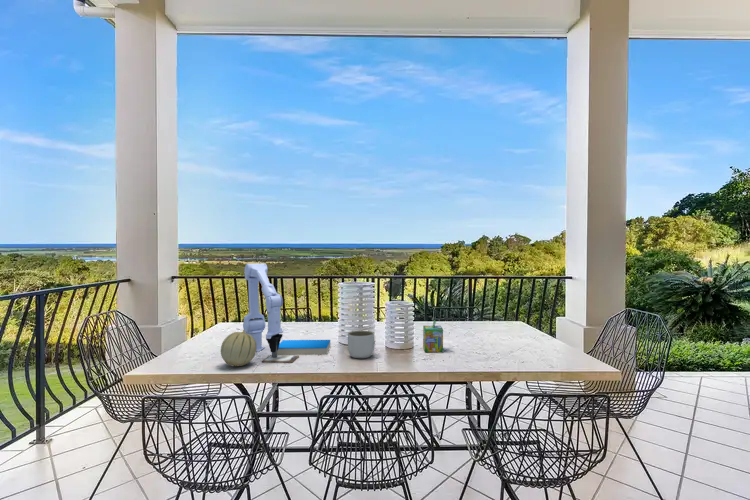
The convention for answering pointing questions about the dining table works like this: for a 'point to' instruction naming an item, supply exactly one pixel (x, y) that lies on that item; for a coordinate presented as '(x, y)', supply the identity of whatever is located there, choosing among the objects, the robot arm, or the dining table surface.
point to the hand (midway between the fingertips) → (274, 351)
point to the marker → (274, 353)
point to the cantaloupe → (238, 348)
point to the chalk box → (433, 338)
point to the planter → (361, 344)
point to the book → (303, 347)
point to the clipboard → (280, 359)
